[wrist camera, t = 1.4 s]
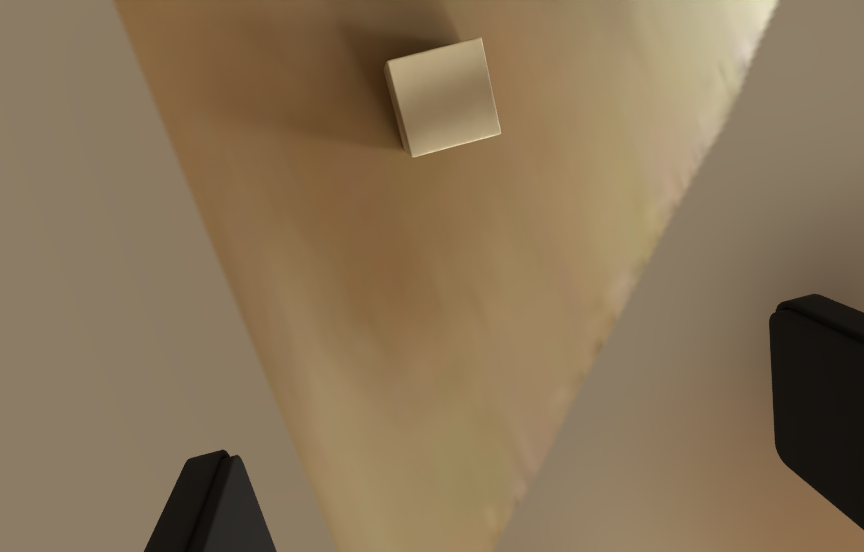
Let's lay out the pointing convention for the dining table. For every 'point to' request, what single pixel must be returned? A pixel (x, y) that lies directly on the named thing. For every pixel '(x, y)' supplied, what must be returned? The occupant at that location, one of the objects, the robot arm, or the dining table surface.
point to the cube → (442, 97)
